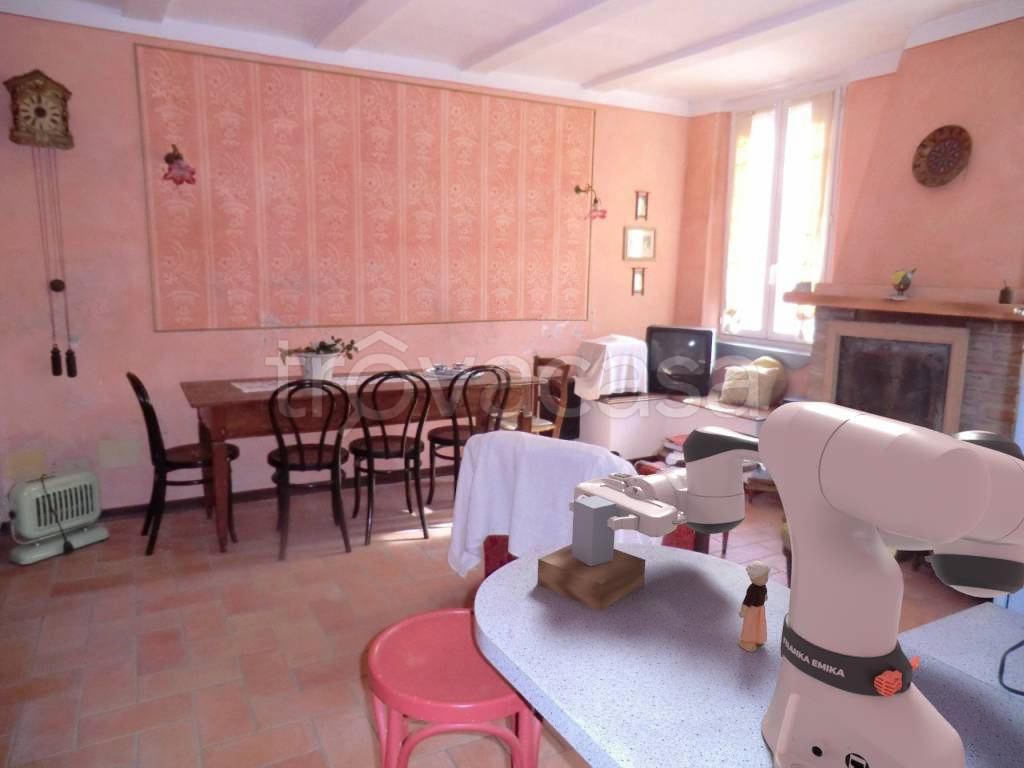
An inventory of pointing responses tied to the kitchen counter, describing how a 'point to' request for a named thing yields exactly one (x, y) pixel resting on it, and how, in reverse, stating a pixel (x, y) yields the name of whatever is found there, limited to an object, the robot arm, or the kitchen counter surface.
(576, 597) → the walnut block
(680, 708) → the kitchen counter surface
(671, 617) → the kitchen counter surface
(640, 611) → the kitchen counter surface
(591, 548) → the slate pillar block
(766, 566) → the grandmother figurine
